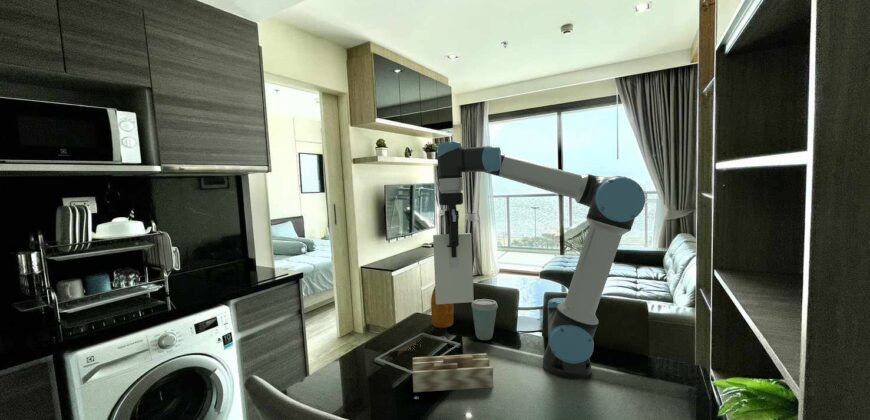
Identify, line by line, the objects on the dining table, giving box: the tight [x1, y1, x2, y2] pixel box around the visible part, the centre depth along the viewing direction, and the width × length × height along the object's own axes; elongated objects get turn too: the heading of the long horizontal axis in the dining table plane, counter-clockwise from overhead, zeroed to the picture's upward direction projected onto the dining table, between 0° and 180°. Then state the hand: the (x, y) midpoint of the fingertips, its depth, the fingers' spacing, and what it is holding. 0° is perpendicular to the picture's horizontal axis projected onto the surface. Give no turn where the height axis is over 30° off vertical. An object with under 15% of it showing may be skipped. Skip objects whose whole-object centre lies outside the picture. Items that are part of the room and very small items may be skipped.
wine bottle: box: [430, 286, 454, 329], centre depth 158 cm, size 10×10×30 cm
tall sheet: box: [432, 232, 475, 305], centre depth 114 cm, size 12×2×22 cm, turn 95°
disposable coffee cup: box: [471, 298, 499, 341], centre depth 145 cm, size 11×11×15 cm
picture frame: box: [373, 332, 462, 375], centre depth 134 cm, size 19×2×30 cm
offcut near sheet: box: [443, 354, 473, 368], centre depth 111 cm, size 9×2×8 cm, turn 93°
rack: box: [412, 353, 494, 393], centre depth 111 cm, size 24×9×7 cm, turn 93°
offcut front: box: [434, 362, 458, 370], centre depth 109 cm, size 7×2×7 cm, turn 93°
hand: (453, 266), depth 114 cm, fingers closed on tall sheet, 2 cm apart
